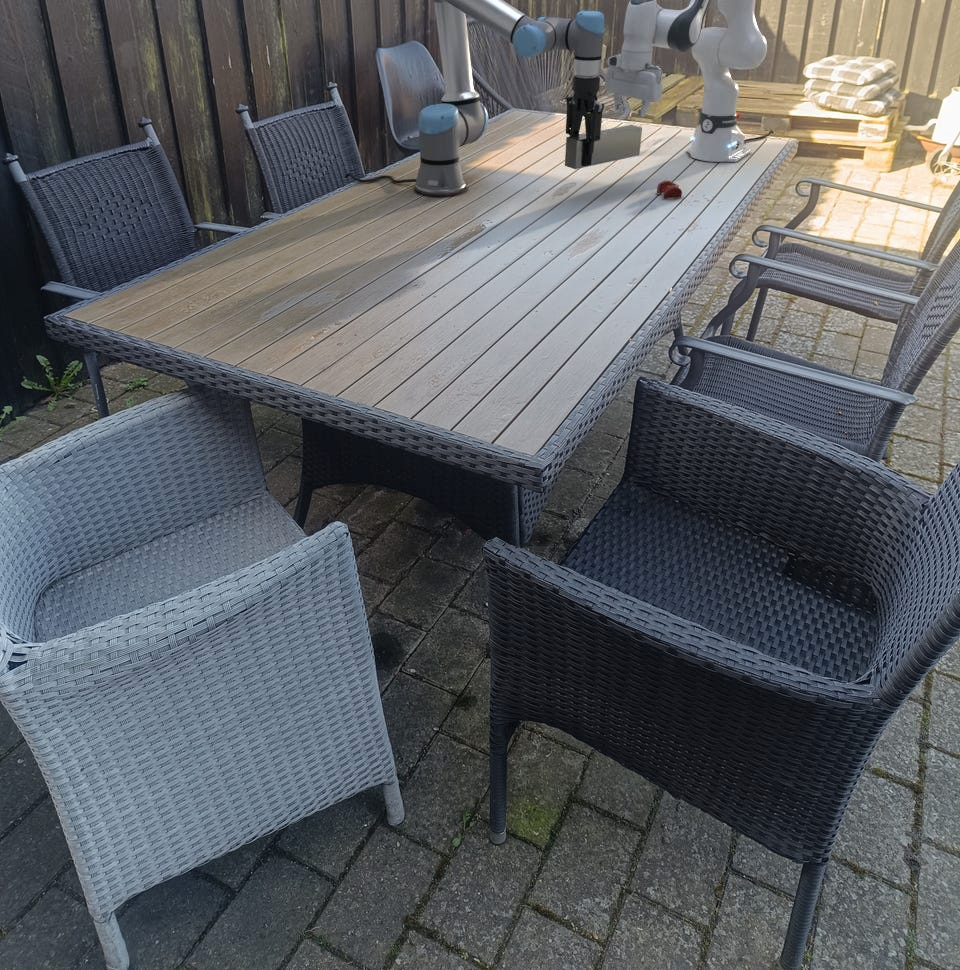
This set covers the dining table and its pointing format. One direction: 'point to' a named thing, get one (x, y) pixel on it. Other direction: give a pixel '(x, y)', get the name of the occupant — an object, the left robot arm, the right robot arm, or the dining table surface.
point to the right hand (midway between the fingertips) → (630, 113)
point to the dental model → (669, 189)
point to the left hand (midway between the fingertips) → (580, 163)
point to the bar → (605, 146)
